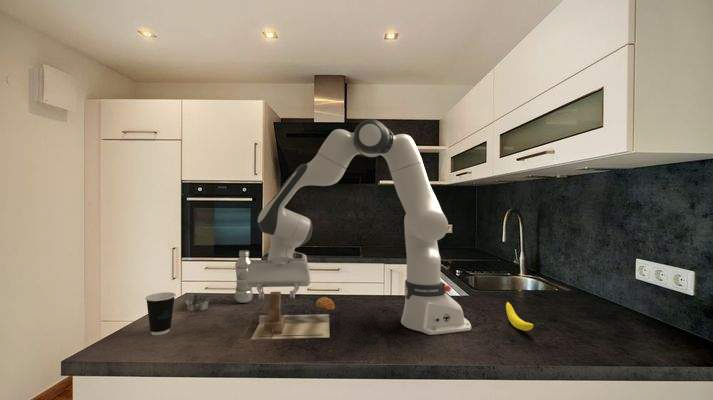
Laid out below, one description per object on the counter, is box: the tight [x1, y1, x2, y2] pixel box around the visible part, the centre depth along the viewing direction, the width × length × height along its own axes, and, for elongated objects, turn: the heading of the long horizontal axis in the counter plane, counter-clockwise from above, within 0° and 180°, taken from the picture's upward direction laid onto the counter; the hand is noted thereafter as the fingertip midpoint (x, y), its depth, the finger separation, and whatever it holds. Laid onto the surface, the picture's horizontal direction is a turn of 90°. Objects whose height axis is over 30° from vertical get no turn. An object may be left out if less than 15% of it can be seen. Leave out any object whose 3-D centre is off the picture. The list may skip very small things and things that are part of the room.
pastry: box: [315, 296, 336, 310], centre depth 124 cm, size 9×7×4 cm
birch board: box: [250, 313, 330, 340], centre depth 101 cm, size 22×13×4 cm, turn 95°
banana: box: [505, 300, 534, 332], centre depth 108 cm, size 3×19×6 cm, turn 178°
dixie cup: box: [145, 291, 176, 336], centre depth 101 cm, size 8×8×11 cm
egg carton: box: [185, 294, 211, 312], centre depth 125 cm, size 11×8×4 cm
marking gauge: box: [264, 291, 286, 335], centre depth 100 cm, size 5×8×11 cm, turn 5°
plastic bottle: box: [234, 249, 253, 304], centre depth 131 cm, size 6×7×20 cm
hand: (276, 297), depth 104 cm, fingers open, 8 cm apart
